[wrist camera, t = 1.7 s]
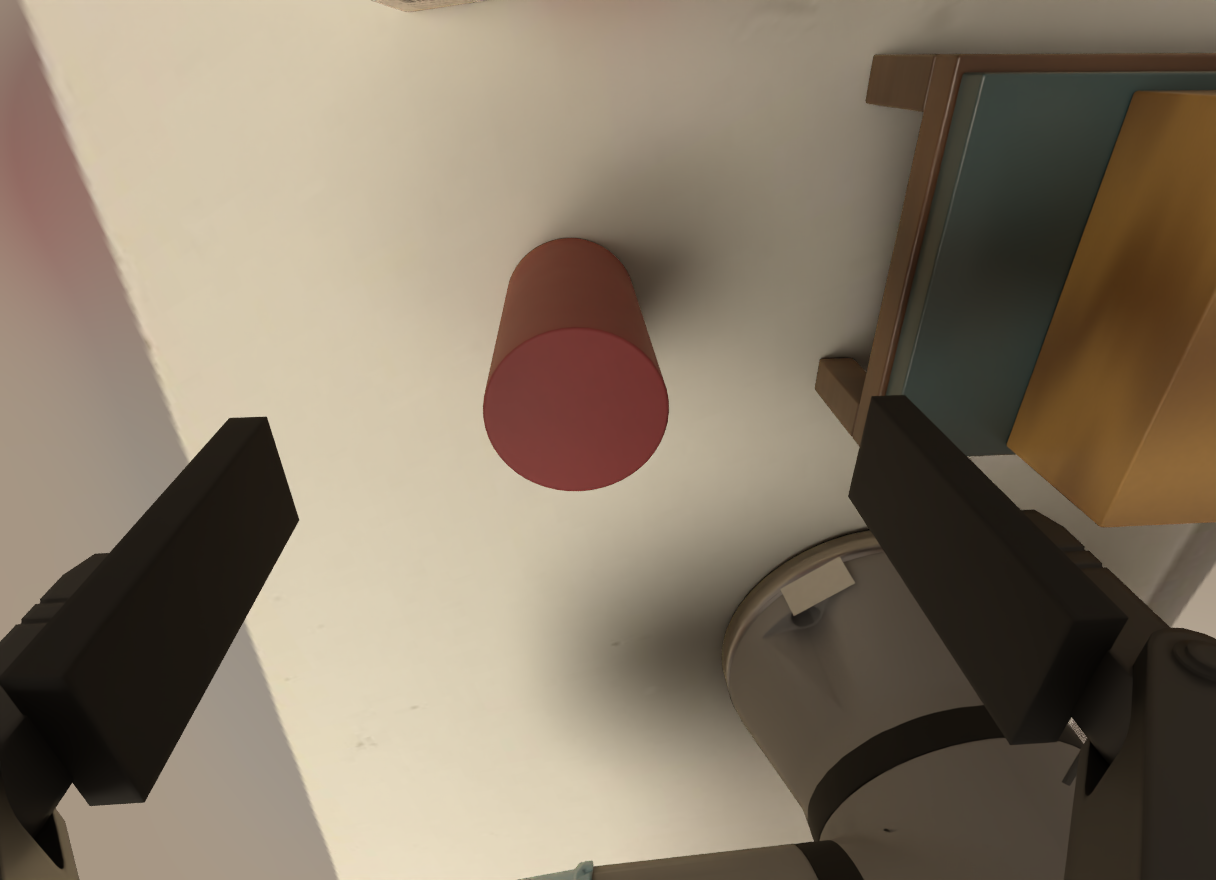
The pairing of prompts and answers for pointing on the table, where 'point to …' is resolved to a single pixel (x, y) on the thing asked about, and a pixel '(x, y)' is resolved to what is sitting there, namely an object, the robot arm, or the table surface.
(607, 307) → the dark red cylinder
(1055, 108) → the chair
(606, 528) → the table surface
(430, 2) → the ink cartridge box
